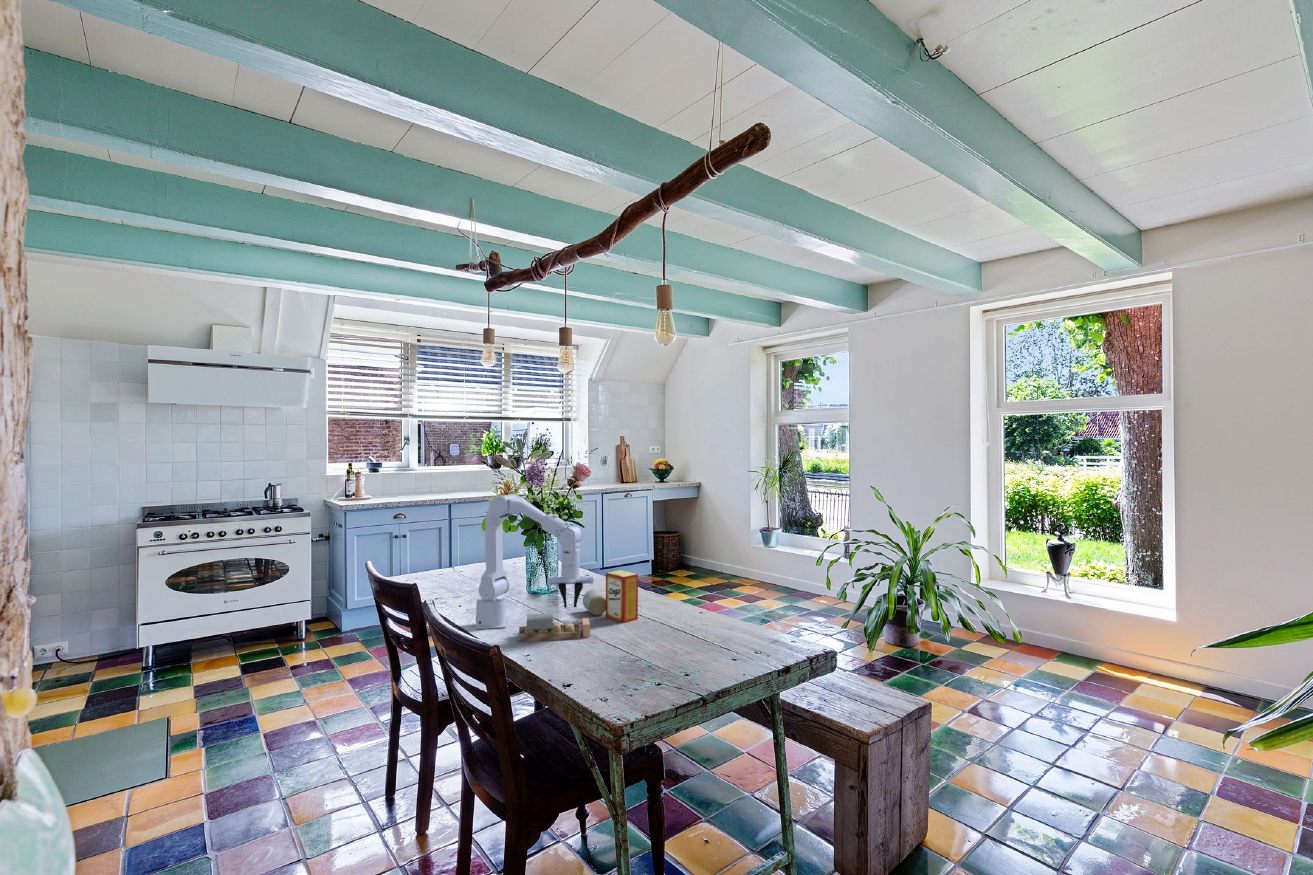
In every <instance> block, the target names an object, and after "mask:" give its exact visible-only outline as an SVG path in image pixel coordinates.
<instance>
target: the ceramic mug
mask: <svg viewBox="0 0 1313 875" xmlns="http://www.w3.org/2000/svg"><path fill="white" fill-rule="evenodd" d="M582 605H583V607H584V608H585V610H587V611H588V612H589V613H590V614H591V615H592V616H601V615H603V614H604V613H606V596H604V595H603V594H602V592H601V591H600V590H598V589H589V590H588V591H586V592H585V594H584V595H583V597H582Z"/></svg>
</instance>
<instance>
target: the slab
mask: <svg viewBox="0 0 1313 875" xmlns="http://www.w3.org/2000/svg"><path fill="white" fill-rule="evenodd" d="M553 623H554V616H553V613H550V612H549V613H532V614H526V626H527V630H530V629H550V628H553Z"/></svg>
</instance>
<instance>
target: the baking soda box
mask: <svg viewBox="0 0 1313 875" xmlns="http://www.w3.org/2000/svg"><path fill="white" fill-rule="evenodd" d="M638 588H639V574H638V573H634V572H630V571H626V570H621V569H619V570H612V571H608V572H605V598H606V611H605V618H606V619H609V620H612V621H615V622H618V623H621V624H626V623H630V622H633V621H636V620H638V619H639V617H638V616H639V612H638V611H639V605H638V604H639V589H638Z"/></svg>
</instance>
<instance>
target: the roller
mask: <svg viewBox="0 0 1313 875" xmlns="http://www.w3.org/2000/svg"><path fill="white" fill-rule="evenodd" d="M565 624H566V626H565V631H564V632H575V628H574V625H573V624H574V623H572V622H568V623H565Z"/></svg>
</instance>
